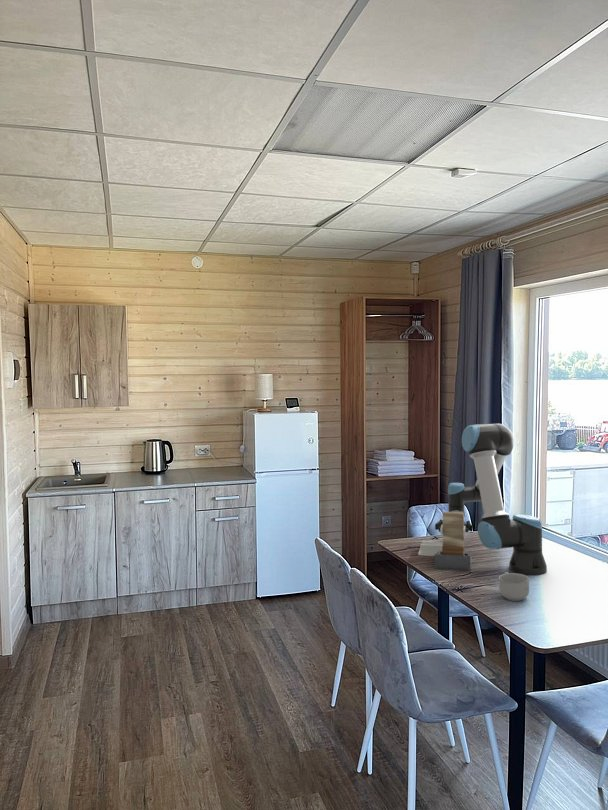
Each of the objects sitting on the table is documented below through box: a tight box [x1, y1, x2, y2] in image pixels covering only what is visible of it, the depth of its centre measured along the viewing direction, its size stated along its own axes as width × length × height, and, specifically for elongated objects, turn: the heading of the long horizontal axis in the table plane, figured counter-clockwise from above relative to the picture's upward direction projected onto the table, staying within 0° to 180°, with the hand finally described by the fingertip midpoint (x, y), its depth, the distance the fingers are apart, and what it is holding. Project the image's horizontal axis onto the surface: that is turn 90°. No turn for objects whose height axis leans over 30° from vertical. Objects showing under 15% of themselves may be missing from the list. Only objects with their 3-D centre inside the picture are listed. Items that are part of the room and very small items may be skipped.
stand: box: [417, 540, 443, 557], centre depth 283 cm, size 10×14×6 cm
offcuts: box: [442, 545, 465, 555], centre depth 262 cm, size 6×9×8 cm
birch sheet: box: [442, 511, 465, 547], centre depth 268 cm, size 2×9×22 cm, turn 73°
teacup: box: [498, 571, 530, 602], centre depth 229 cm, size 14×11×8 cm
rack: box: [433, 551, 472, 572], centre depth 265 cm, size 15×15×8 cm
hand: (452, 532), depth 264 cm, fingers closed on birch sheet, 9 cm apart
